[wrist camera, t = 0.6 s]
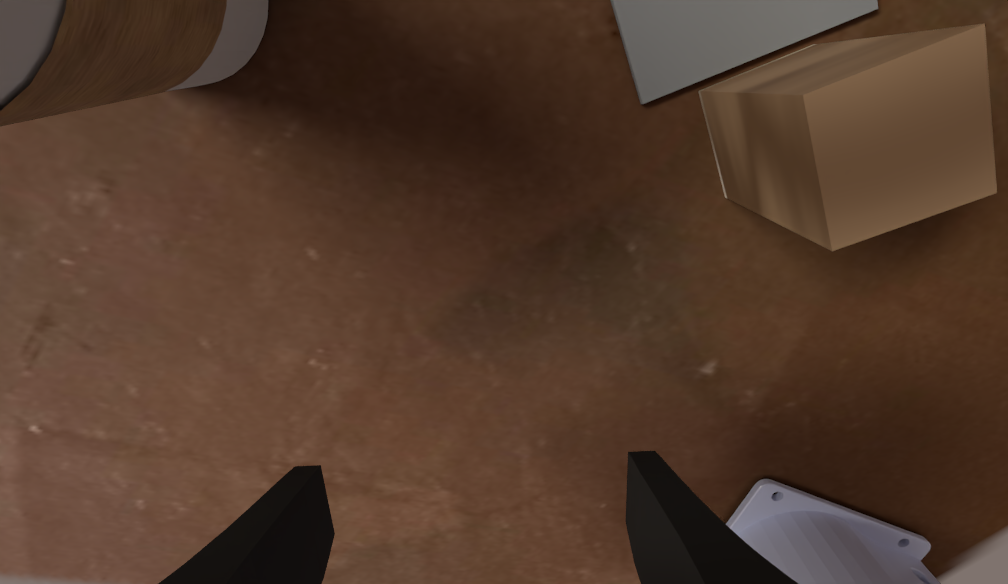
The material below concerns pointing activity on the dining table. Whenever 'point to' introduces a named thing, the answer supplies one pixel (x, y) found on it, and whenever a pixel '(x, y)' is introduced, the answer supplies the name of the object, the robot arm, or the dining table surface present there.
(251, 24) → the coffee cup
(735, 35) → the slate mat
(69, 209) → the dining table surface
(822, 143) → the walnut block
